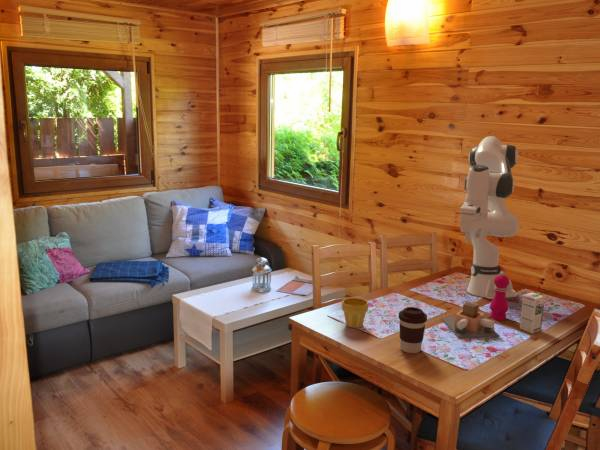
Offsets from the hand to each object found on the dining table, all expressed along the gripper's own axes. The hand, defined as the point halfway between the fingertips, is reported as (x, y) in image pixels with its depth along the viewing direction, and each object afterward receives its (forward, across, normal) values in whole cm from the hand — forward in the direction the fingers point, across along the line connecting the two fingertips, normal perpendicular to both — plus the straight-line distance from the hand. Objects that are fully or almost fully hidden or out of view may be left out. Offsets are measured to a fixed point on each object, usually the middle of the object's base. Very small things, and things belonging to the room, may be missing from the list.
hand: (473, 239), depth 211 cm
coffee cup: (+33, +44, -3) cm, 55 cm away
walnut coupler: (+32, +11, +6) cm, 34 cm away
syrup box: (+33, -4, +25) cm, 42 cm away
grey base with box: (+33, +11, +6) cm, 35 cm away
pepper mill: (+33, -8, +10) cm, 36 cm away
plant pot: (+33, +39, -30) cm, 60 cm away
